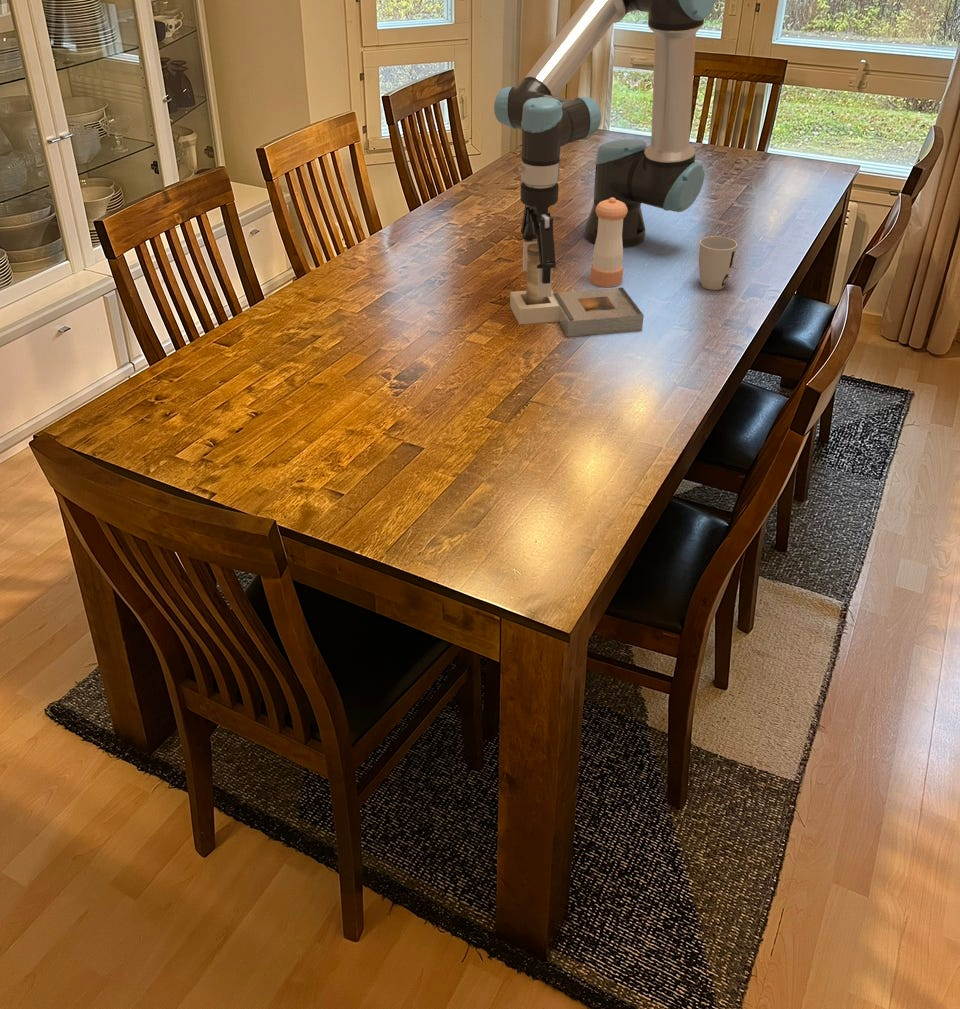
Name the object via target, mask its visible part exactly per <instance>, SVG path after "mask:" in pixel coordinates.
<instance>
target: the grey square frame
mask: <svg viewBox="0 0 960 1009" xmlns="http://www.w3.org/2000/svg"><path fill="white" fill-rule="evenodd" d="M553 293H554V295H555V296H553V297H556V298H557V301H558V305H559V303H560V305H559V321H558V323H559V325H560V326H561V328H562V330H563V332H564V334H565V335H566V337H567V338H572V337H573V338H574V337H583V336H585V337H586V336H593V335H595V336H596V335H604V334H605V335H606V334H618V333H628V332H639V331H643V326H644V325H643V324H644V316H645V315H644V313H643V312H642V311H641V309H640V308H639V307H638V305H637V304H636V303H635V301H634V300H633V298H632V297H631V296H630V295H629V294H628V292H627V291H626V290H625V288H624V287H616V288H615V287H611V288H602V289H600V288H599V289H591V290H589V289H588V290H578V291H565V292H564V291H563V292H553ZM553 293H552V294H553ZM590 310H600V311H590ZM587 311H589V312H587Z"/></svg>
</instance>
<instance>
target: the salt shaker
mask: <svg viewBox="0 0 960 1009" xmlns="http://www.w3.org/2000/svg"><path fill="white" fill-rule="evenodd" d="M595 211H596V214H597V216H598V217H599V218H598V230H597V238H596V242H595V244H594V245H593V247H594V248H593V251H592V253H593V255H592V264H591V266H590V274H589V275H590V277H589V278H590V279H589V281H590V283H591V284H592V285H594V286H596V287H601V288H615V287H618V286H620V285H621V284H622V282H623V275H624V267H623V265H622V264H623V256H624V247H623V243H622V229H623V218H624V217H625V216H626V214H627V212H628V210H627V207H626V205H625V203H623V202H621V201H619V200H616V199H615V198H613V197H612V198H609V199H608V200H604V201H601V202H599V204H598V205H597V207H596V209H595Z"/></svg>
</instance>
